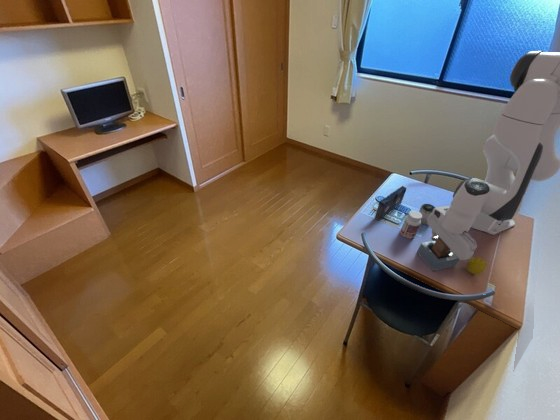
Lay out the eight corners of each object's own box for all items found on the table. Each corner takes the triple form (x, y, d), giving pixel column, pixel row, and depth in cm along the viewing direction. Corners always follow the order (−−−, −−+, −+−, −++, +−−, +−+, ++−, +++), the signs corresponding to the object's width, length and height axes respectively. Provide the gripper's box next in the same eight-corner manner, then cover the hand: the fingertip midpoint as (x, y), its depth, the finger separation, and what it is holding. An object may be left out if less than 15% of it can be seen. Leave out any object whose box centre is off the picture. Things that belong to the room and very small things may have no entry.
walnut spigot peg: (437, 252, 114) (447, 235, 107) (444, 260, 111) (454, 242, 104) (428, 254, 113) (438, 236, 106) (435, 261, 110) (445, 244, 103)
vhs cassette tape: (396, 201, 139) (402, 185, 133) (401, 204, 138) (408, 188, 131) (373, 217, 131) (378, 200, 124) (378, 221, 129) (384, 204, 122)
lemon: (462, 264, 110) (472, 251, 105) (478, 269, 109) (489, 255, 103) (463, 275, 106) (473, 262, 101) (480, 280, 105) (491, 267, 99)
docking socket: (438, 247, 117) (443, 238, 114) (455, 266, 110) (460, 257, 106) (417, 251, 115) (421, 243, 112) (432, 271, 108) (437, 262, 105)
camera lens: (433, 223, 128) (440, 210, 123) (421, 225, 127) (427, 212, 121) (425, 214, 132) (431, 201, 127) (413, 216, 131) (418, 203, 126)
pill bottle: (418, 235, 122) (427, 215, 115) (408, 240, 120) (417, 221, 112) (406, 226, 126) (414, 207, 119) (397, 232, 123) (404, 212, 116)
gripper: (486, 242, 92) (468, 268, 101) (445, 203, 107) (432, 229, 116) (470, 245, 91) (453, 271, 100) (430, 205, 106) (418, 231, 115)
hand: (441, 248), depth 108 cm, fingers open, 8 cm apart
